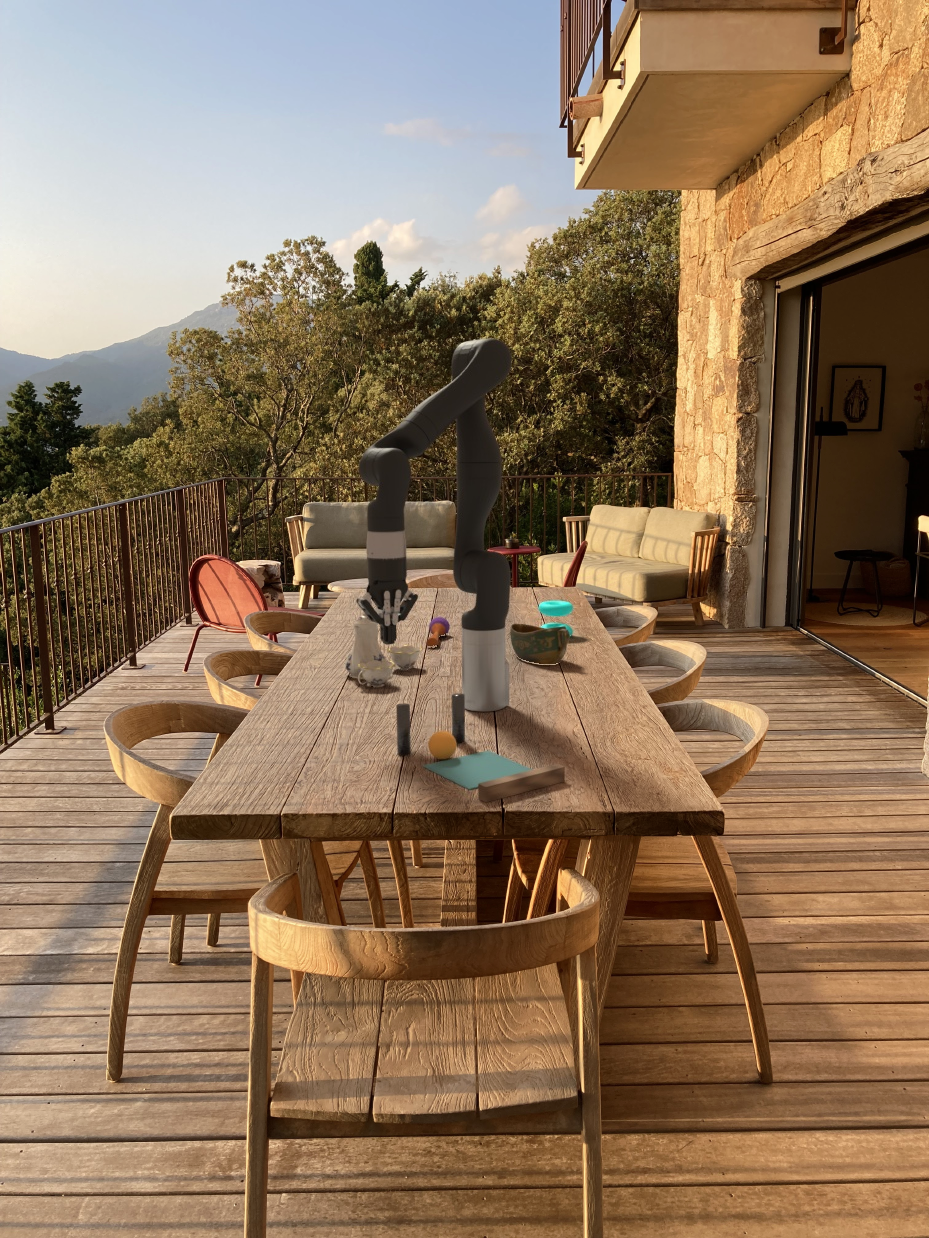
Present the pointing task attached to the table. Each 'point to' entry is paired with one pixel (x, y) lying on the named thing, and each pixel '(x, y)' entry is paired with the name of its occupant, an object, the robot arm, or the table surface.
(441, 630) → the kendama
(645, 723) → the table surface
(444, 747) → the ball
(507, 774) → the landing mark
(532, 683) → the table surface
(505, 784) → the stopper
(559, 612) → the donuts
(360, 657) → the chinaware
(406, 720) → the post
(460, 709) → the post
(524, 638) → the cup
